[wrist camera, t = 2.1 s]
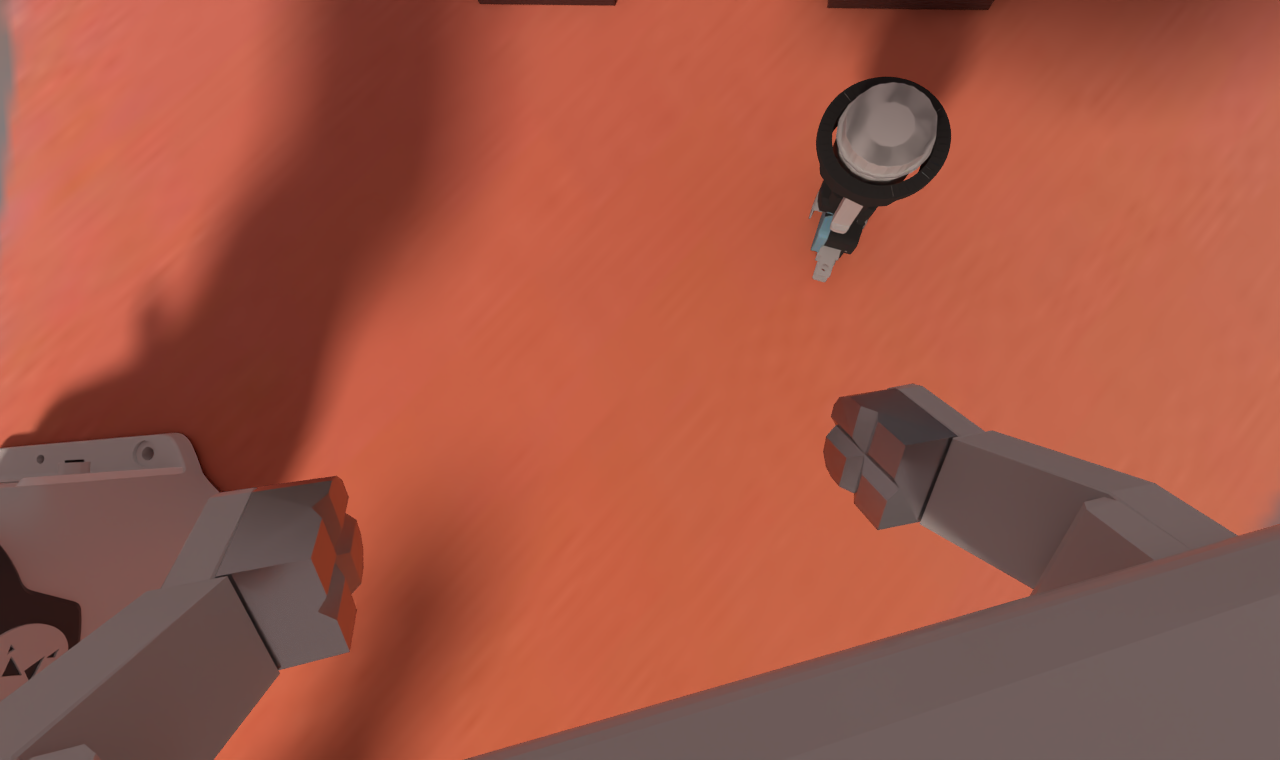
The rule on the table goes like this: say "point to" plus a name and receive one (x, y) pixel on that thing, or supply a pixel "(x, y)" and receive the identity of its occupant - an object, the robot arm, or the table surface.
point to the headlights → (834, 1)
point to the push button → (873, 158)
